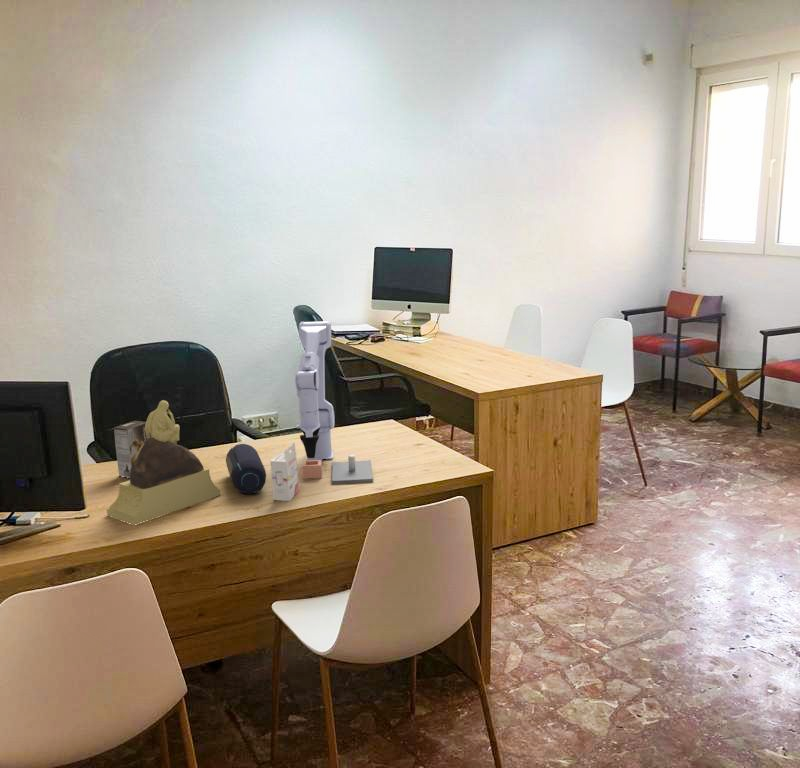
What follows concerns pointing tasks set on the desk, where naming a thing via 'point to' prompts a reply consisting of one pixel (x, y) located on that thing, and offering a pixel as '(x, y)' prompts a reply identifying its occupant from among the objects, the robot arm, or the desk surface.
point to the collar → (312, 469)
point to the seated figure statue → (162, 474)
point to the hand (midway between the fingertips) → (311, 454)
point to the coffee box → (128, 444)
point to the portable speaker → (245, 469)
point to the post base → (352, 471)
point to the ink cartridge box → (285, 475)
